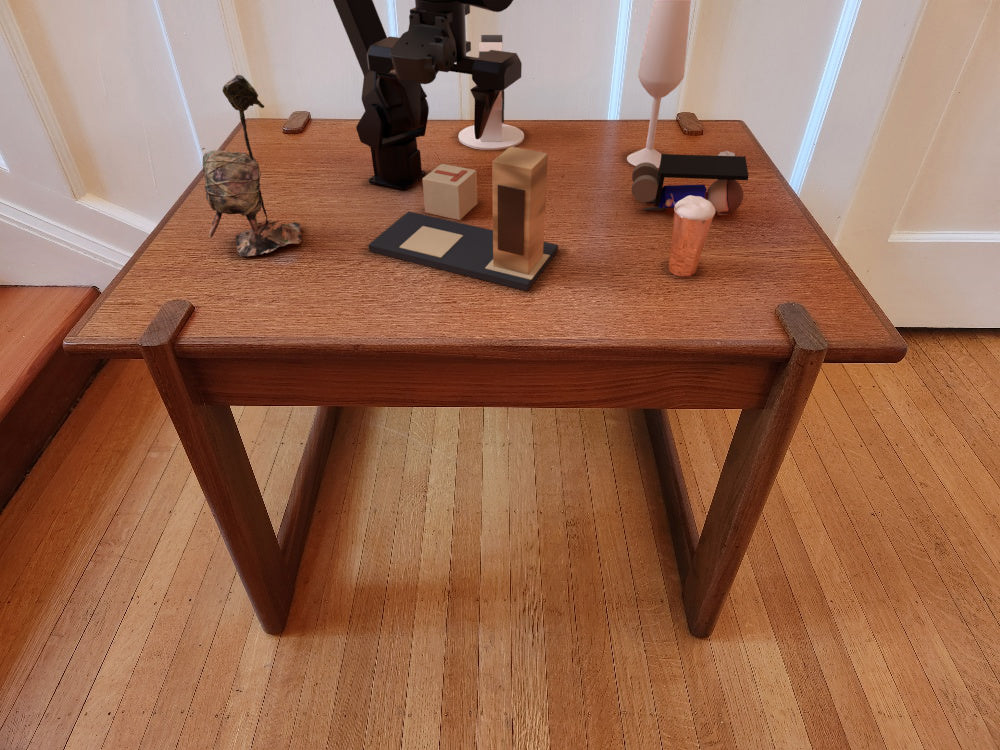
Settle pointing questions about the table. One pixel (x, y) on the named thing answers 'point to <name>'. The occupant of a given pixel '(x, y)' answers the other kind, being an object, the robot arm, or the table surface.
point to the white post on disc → (492, 114)
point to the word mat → (453, 249)
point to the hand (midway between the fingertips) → (446, 132)
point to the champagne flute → (662, 64)
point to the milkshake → (689, 233)
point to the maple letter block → (519, 208)
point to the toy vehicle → (720, 193)
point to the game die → (726, 154)
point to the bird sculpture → (243, 185)
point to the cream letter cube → (450, 191)
